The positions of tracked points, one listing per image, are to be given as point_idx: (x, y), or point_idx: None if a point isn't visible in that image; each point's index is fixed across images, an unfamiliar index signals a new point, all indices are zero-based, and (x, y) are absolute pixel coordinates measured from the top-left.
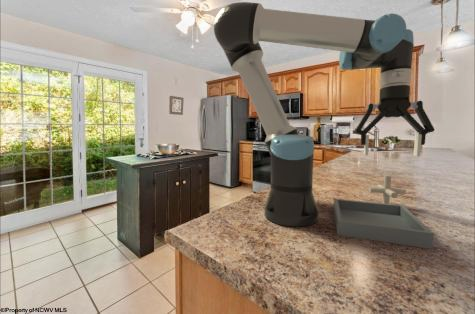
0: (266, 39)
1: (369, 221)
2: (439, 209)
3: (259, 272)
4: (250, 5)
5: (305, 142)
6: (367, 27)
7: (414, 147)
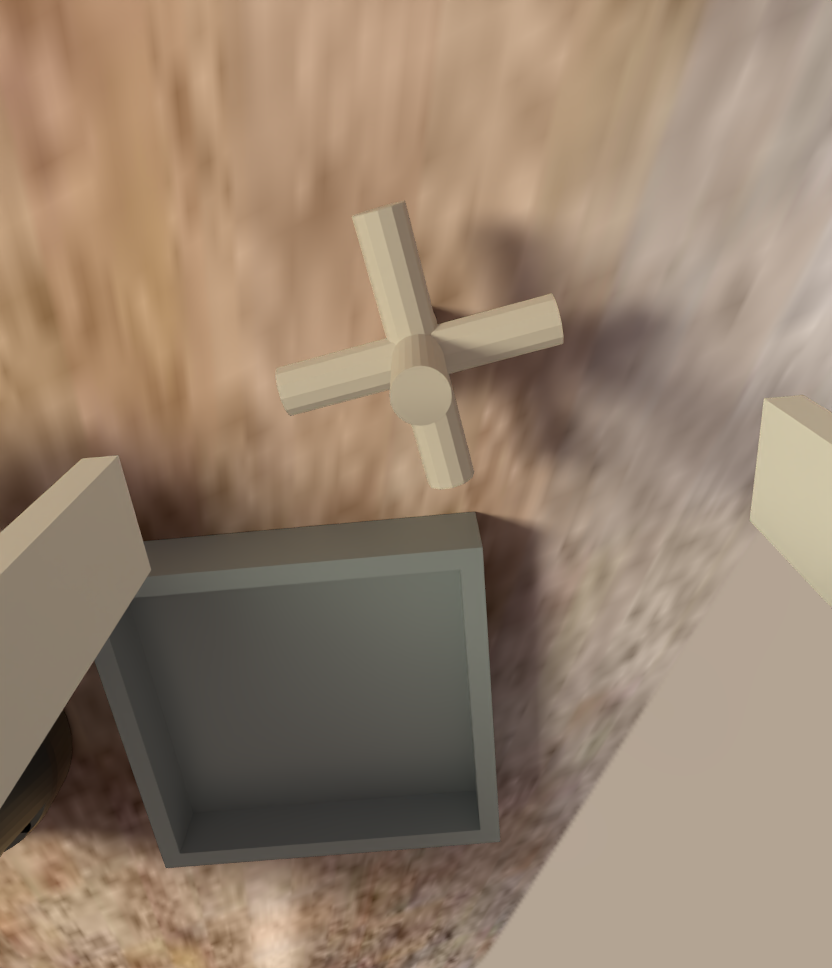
0: None
1: (297, 689)
2: (768, 251)
3: None
4: None
5: None
6: None
7: (829, 460)
